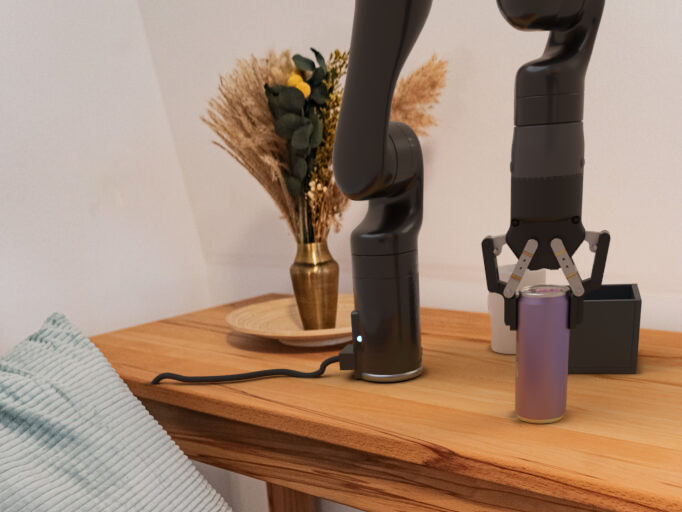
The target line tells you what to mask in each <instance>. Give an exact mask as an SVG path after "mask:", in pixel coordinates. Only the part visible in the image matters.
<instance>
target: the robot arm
mask: <svg viewBox="0 0 682 512" xmlns="http://www.w3.org/2000/svg"><path fill="white" fill-rule="evenodd" d="M433 3H434V0H355V1H354V12H353V18H352V29H351V36H350V43H349V53H348V60H347V69H346V73H345V74H346V75H345V81H344V86H343V91H342V96H341V103H340V106H339V112H338V117H337V123H336V128H335V134H334V139H333V144H332V145H333V146H332V154H331V155H332V157H331V165H332V166H331V167H332V174H333V177H334V182H335V184H336V187H337V188H338V190H339V191H340V193H341V194H342V195H343V196H344V197H345V198H347V199H348V200H351V201H354V202H365V201H368V203H367V204H368V206H367V211H366V213H365V215H364V218H362V220H361V222H359V224H358V225H357V226H356V227H354V229H352V231H351V233H350V236H349V250H350V251H349V252H350V263H351V277H352V278H351V280H352V292H353V295H352V296H353V310H352V311H351V312H350V324H351V325H350V326H351V340H352V341H351V342H352V343H349V344H346V345H345V346H344V347H343V349H341V350H340V351H339V352H338V355H333V356H331V357H328V358H326V359H325V360H323V361H322V362H321V364H320V365H319V369H316V370H315V371H311V372H304V371H298V370H294V369H291V368H270V369H262V370H255V371H249V372H241V373H235V374H222V375H199V376H198V375H197V376H195V375H191V376H190V375H189V376H188V375H182V374H179V373H174V372H169V371H168V372H161V373H159V374H158V375H156V376H155V377H154V378H153V379H152V380H151V381H150V385H158V384H159V383H160V382H161V381H163V380H172V381H177V382H181V383H188V384H203V383H227V382H237V381H238V382H239V381H246V380H252V379H258V378H264V377H272V376H273V377H274V376H288V377H292V378H293V377H294V378H301V379H317V378H319V377H322V376H323V375H324V374H325V372H326V369H327V367H329V366H331V365H332V364H336V363H338V364H339V365H338V366H339V371H353V372H354V379H356V380H365V381H369V382H374V383H375V382H376V383H392V382H402V381H406V380H407V381H408V380H411V379H413V378H416V377H419V376H420V375H422V374H423V372H424V363H423V346H422V322H421V321H422V320H421V296H420V295H421V293H420V268H419V267H420V266H419V235H420V232H421V230H422V226H423V222H424V195H425V194H424V193H425V188H424V187H425V167H424V165H425V164H424V155H423V154H424V153H423V149H422V148H423V147H422V145H421V141H420V139H419V137H418V134H417V133H416V131H415V130H414V128H412V127H411V126H410V125H409V124H407V123H406V122H403V121H398V120H391V113H392V107H393V100H394V95H395V90H396V87H397V84H398V80H399V78H400V75H401V73H402V71H403V68H404V66H405V65H406V62H407V60H408V58H409V57H410V54H411V53H412V51H413V49H414V47H415V45H416V43H417V42H418V39H419V38H420V35H421V33H422V32H423V30H424V28H425V25H426V23H427V21H428V19H429V16H430V13H431V10H432V6H433ZM495 3H496V6H497V9H498V11H499V13H500V14H501V16H502V18H503V19H504V20H505V21H506V22H507V23H508V25H509V26H510V27H512V28H513V29H515V30H517V31H519V32H524V33H534V32H535V33H536V32H548V36H547V40H546V44H545V45H544V50H543V52H542V55H541V56H540V57H538V58H535V59H532V60H530V61H528V62H525V63H524V64H522V65H521V66H520V67H519V68H518V69H517V71H516V73H515V77H514V87H513V88H514V89H513V133H512V141H511V147H510V148H511V149H510V163H509V172H510V208H509V209H510V211H509V212H510V213H509V216H510V219H509V220H510V221H509V226H508V230H507V232H506V233H505V234H499V235H493V236H492V235H486V236H485V237H484V238H483V239H482V241H481V243H480V245H481V252H482V253H481V254H482V259H483V267H484V274H485V282H486V289H487V291H488V293H489V292H491V293H497V294H500V295H502V296H503V298H504V323H505V325H506V326H510V331H516V317H517V298H518V295H516V289H517V287H518V285H519V283H520V281H521V279H522V277H523V275H524V273H525V271H526V269H529V270H530V271H537V270H540V269H543V268H545V269H546V270H550V271H559V269H561V271H562V273H563V275H564V277H565V279H566V280H567V283H568V285H570V287H571V289H572V291H573V293H571V309H570V330H576V324H581V323H582V321H583V306H584V296H585V294H586V293H588V292H590V291H592V290H598V289H599V288H600V287H601V285H602V284H603V280H604V276H605V275H604V274H605V269H606V264H607V260H608V255H609V248H610V244H611V233H610V231H609V230H607V229H603V230H601V231H594V230H586V228H585V227H584V224H583V220H582V217H583V216H582V215H583V198H584V197H583V196H584V195H583V194H584V174H585V173H584V171H585V169H584V168H585V165H586V161H585V160H586V159H585V152H586V151H585V149H586V148H585V147H586V145H585V143H586V142H585V132H584V113H585V111H584V110H585V89H586V76H587V71H588V68H589V64H590V61H591V57H592V55H593V51H594V47H595V43H596V39H597V35H598V32H599V29H600V25H601V21H602V18H603V14H604V10H605V5H606V0H495ZM584 241H585V242H587V243H588V249H589V251H590V252H591V253H594V257H593V263H592V268H591V273H590V277H587V278H585V279H582V277H581V274H580V273H579V270H578V266H577V265H576V263H575V261H574V259H573V256H574V255H575V253H577V251H578V249H580V247H581V245H582V244H583V243H584ZM504 245H507V247H508V248H509V249H510V251H511V253H512V254H513V255H514V256H515V258H516V259H517V262H516V263H515V264H516V266H515V268H514V270H513V272H512V274H511V276H510V278H509V281H508V283H507V282H504V281H501V280H500V279H499V271H498V266H499V265H498V256H500V255H501V253H502V252H503V246H504Z"/></svg>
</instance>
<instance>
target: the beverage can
mask: <svg viewBox="0 0 682 512" xmlns="http://www.w3.org/2000/svg"><path fill="white" fill-rule="evenodd" d="M562 285H563V284H546V285H532V286H527V287H523V288H521V289H519V295H518V298H517V317H516V354H515V367H514V368H515V374H514V375H515V376H514V413H515V415H516V417H517V418H518V419H519V420H521V422H524V423H529V424H539V425H540V424H542V425H543V424H552V423H555V422H558V421H560V420H561V419H563V417H564V416H565V415H566V413H567V403H568V402H567V400H568V398H567V397H568V378H569V377H568V376H569V374H568V358H569V336H570V309H571V297H570V293H569V291H570V288H569V287H566V286H562Z"/></svg>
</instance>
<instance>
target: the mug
mask: <svg viewBox="0 0 682 512" xmlns="http://www.w3.org/2000/svg"><path fill="white" fill-rule="evenodd" d="M516 264H517V263H510V264H503V265H498V271H499V279H500V280H501V281H504V282H507V283H508V281H509V278H510V276H511V274H512V272H513V270H514V268H515V266H516ZM532 285H547V269H545V268H543V269H540V270H537V271H530V270H529V269H526V271H525V273H524V275H523V277H522V279H521V281H520V283H519V285H518V287H517V289H516V295H519V289H521V288H523V287H527V286H532ZM487 311H488V316H489V318H490V332H491V333H490V348H491V350H492V351H493V352H495V353H498V354H504V355H516V331H510V326H506V325H505V323H504V298H503V296H502V295H500V294H497V293H491V292H489V291H488V293H487Z"/></svg>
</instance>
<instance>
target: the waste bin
mask: <svg viewBox="0 0 682 512" xmlns="http://www.w3.org/2000/svg"><path fill="white" fill-rule="evenodd" d="M561 285H562V286H566V287H569V288H570V291H569V293H570V297H571V293H573V291H572V289H571V287H570V285H569V284H567V285H566V284H565V285H563V284H561ZM642 305H643V299H642V296H641V293H640V289H639V286H638V283H606V284H605V283H602V285H601V287H600V288H599V289H598V290H592V291H590V292H588V293H586V294H585V296H584V306H583V321H582V323H581V324H576V330H570V336H569V358H568V375H569V374H576V375H577V374H579V375H581V374H583V375H584V374H586V375H587V374H603V375H604V374H605V375H606V374H611V375H612V374H615V375H616V374H620V375H621V374H626V375H627V374H633V375H634V374H637V369H638V368H637V367H638V356H639V344H640V331H641V319H642V318H641V317H642Z"/></svg>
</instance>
